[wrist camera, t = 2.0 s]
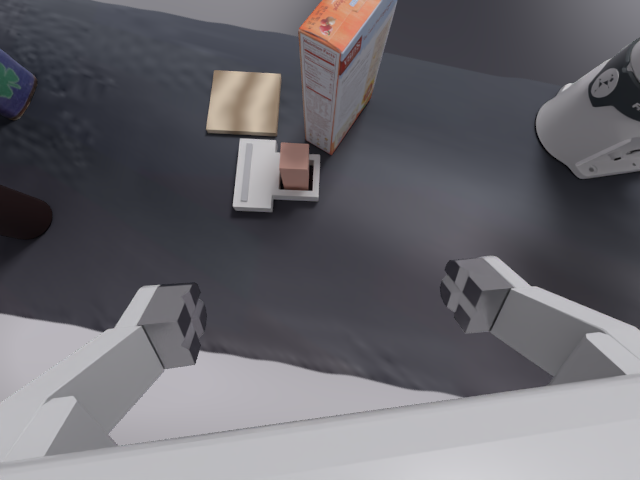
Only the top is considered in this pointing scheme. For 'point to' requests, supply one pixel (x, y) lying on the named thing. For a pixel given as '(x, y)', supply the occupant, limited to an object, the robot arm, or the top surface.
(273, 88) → the board
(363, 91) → the cracker box
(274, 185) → the dispenser
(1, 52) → the flask
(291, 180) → the block
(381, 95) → the top surface
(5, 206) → the bottle
